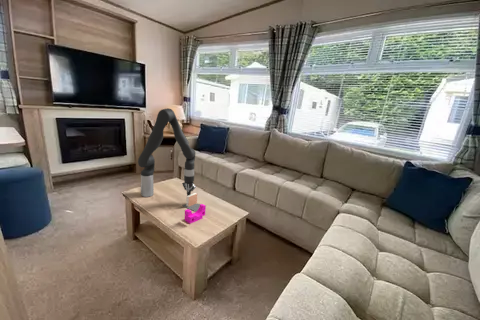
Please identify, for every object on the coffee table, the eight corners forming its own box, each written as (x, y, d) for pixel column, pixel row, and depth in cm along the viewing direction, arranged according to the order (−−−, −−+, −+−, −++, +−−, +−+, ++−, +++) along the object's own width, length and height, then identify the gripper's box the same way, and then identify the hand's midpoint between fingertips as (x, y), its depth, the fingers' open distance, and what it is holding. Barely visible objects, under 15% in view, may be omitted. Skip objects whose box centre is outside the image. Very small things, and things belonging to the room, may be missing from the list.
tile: (186, 205, 165) (186, 196, 163) (194, 202, 172) (194, 192, 170) (188, 206, 163) (188, 197, 161) (196, 203, 171) (197, 193, 169)
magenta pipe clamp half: (190, 224, 141) (190, 213, 140) (184, 220, 145) (184, 210, 143) (207, 216, 153) (208, 206, 151) (201, 213, 156) (202, 203, 155)
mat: (182, 205, 165) (182, 205, 165) (193, 201, 175) (193, 200, 175) (195, 211, 158) (195, 211, 158) (206, 206, 168) (206, 205, 168)
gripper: (179, 173, 164) (179, 194, 168) (192, 177, 158) (191, 199, 162) (186, 171, 171) (186, 192, 175) (199, 175, 164) (198, 196, 168)
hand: (188, 195), depth 168 cm, fingers closed
